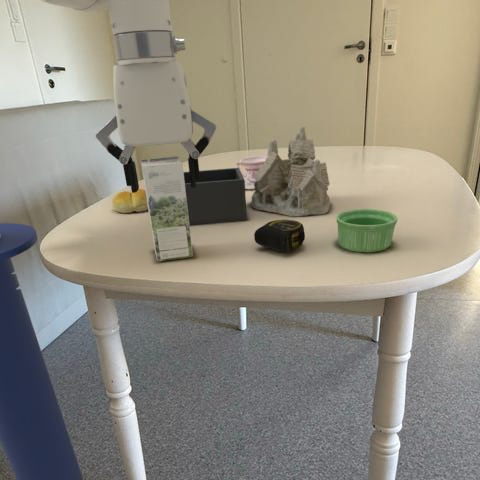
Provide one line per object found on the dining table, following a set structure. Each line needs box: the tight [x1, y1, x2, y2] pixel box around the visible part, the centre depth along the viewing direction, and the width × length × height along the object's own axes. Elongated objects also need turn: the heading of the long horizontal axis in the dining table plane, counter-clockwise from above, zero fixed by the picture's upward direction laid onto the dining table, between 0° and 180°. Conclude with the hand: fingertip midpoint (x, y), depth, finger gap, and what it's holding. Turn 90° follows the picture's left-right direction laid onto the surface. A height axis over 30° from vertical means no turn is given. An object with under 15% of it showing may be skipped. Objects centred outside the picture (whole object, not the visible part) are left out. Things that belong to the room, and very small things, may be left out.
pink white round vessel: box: [236, 155, 268, 190], centre depth 111 cm, size 12×12×6 cm
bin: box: [183, 167, 248, 226], centre depth 89 cm, size 13×13×8 cm
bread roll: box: [111, 188, 149, 214], centre depth 98 cm, size 8×9×4 cm
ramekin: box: [335, 208, 398, 253], centre depth 69 cm, size 9×9×4 cm
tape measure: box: [253, 219, 306, 253], centre depth 70 cm, size 7×7×4 cm
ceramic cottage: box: [250, 126, 331, 217], centre depth 89 cm, size 16×16×15 cm
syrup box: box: [140, 155, 194, 262], centre depth 68 cm, size 6×6×14 cm
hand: (164, 187), depth 66 cm, fingers open, 8 cm apart
